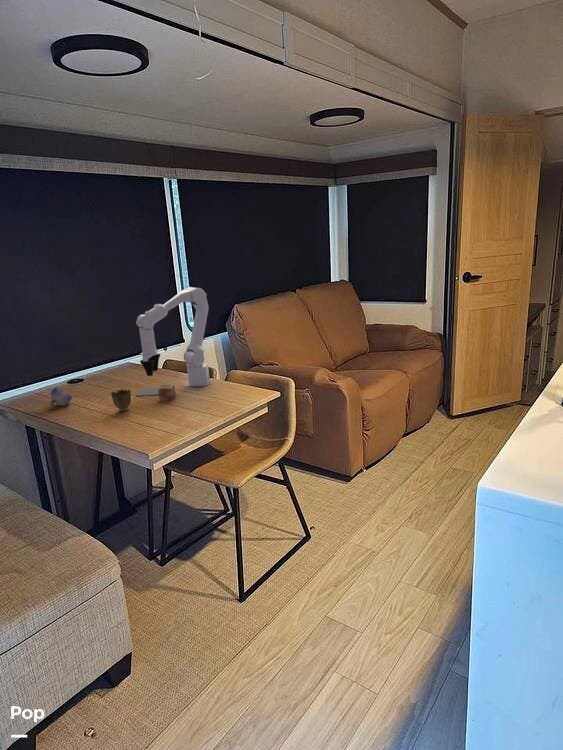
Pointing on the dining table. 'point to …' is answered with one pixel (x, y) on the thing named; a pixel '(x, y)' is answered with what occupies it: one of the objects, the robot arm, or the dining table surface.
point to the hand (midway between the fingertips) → (152, 373)
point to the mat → (148, 391)
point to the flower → (59, 398)
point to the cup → (122, 399)
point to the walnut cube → (166, 392)
